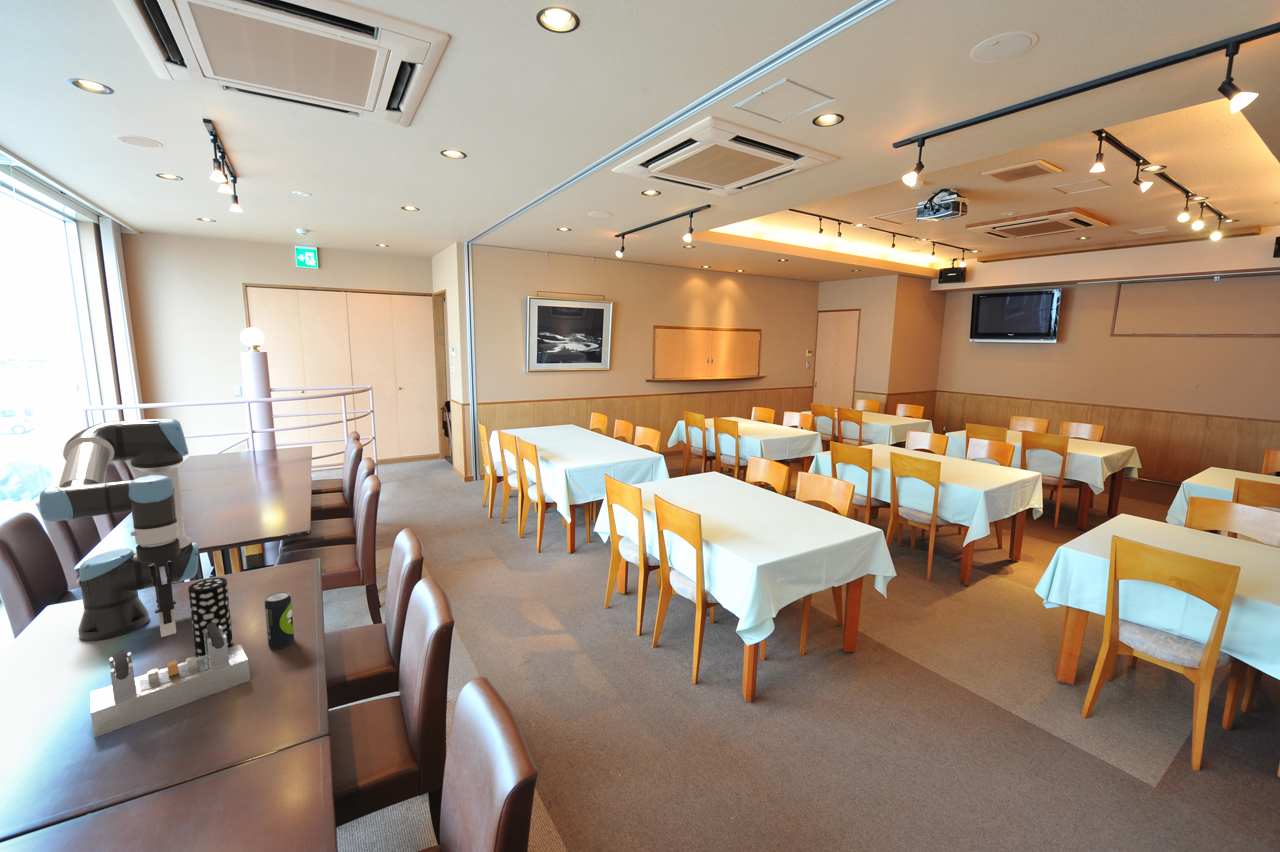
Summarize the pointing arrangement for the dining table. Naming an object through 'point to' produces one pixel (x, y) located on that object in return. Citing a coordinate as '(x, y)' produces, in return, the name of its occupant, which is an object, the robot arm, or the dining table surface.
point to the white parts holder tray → (167, 686)
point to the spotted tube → (209, 610)
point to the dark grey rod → (215, 635)
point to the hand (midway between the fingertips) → (168, 633)
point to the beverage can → (279, 620)
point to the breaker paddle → (172, 668)
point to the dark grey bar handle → (121, 664)
